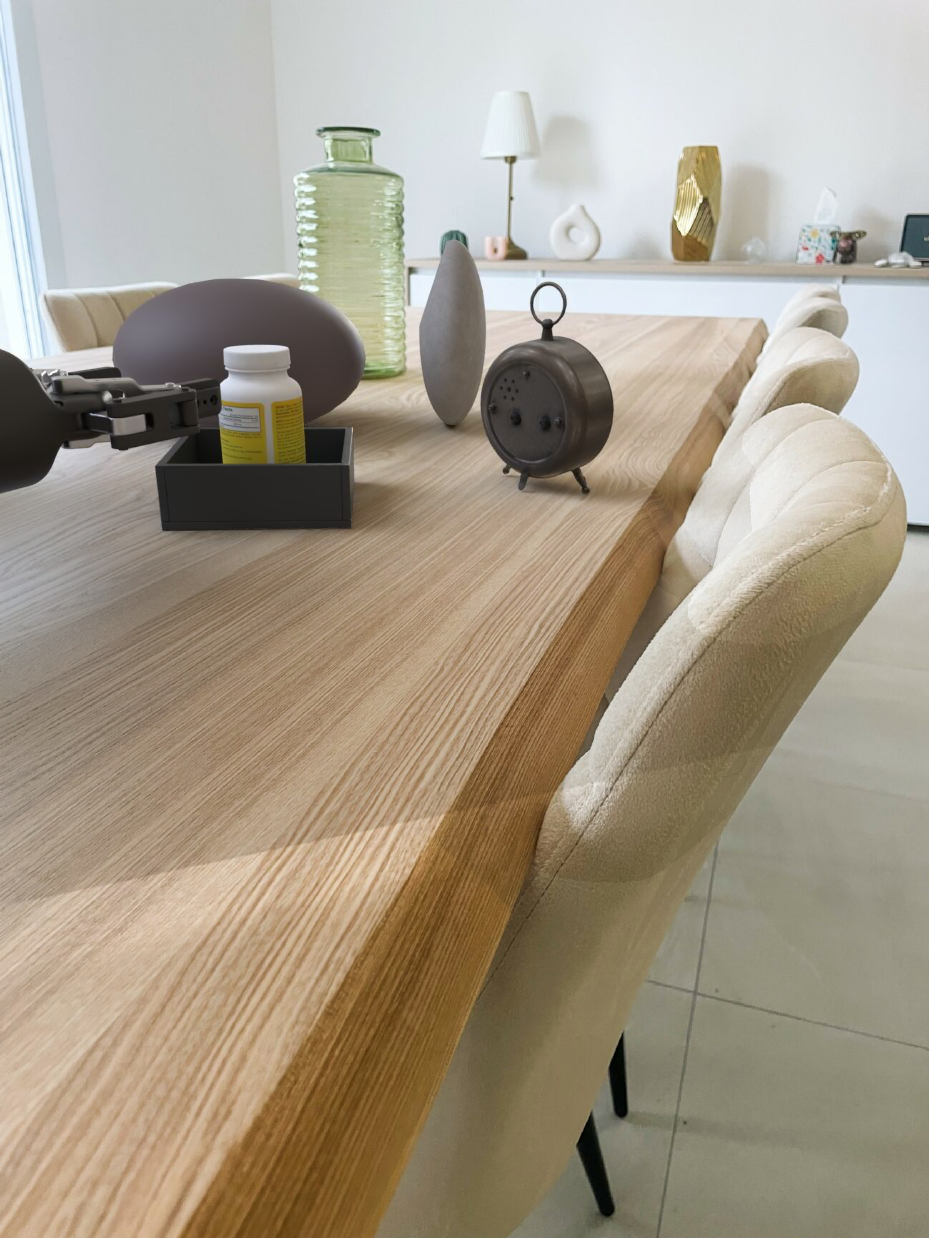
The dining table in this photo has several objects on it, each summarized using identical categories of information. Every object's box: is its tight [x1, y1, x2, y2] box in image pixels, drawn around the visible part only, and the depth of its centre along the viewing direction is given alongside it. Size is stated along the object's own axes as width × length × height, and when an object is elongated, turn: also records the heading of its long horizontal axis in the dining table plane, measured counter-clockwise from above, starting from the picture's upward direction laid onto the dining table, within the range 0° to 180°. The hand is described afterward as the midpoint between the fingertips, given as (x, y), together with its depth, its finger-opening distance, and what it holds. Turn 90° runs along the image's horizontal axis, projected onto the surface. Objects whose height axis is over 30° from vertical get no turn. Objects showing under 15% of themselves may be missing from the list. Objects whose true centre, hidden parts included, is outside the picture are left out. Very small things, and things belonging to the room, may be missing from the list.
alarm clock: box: [479, 281, 615, 495], centre depth 75 cm, size 11×5×16 cm, turn 48°
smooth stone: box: [111, 277, 367, 427], centre depth 94 cm, size 25×25×15 cm
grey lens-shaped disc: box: [418, 239, 487, 426], centre depth 99 cm, size 18×7×19 cm, turn 1°
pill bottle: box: [219, 345, 306, 464], centre depth 69 cm, size 6×6×11 cm
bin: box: [154, 426, 355, 531], centre depth 71 cm, size 13×13×5 cm
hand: (166, 389), depth 60 cm, fingers open, 8 cm apart
